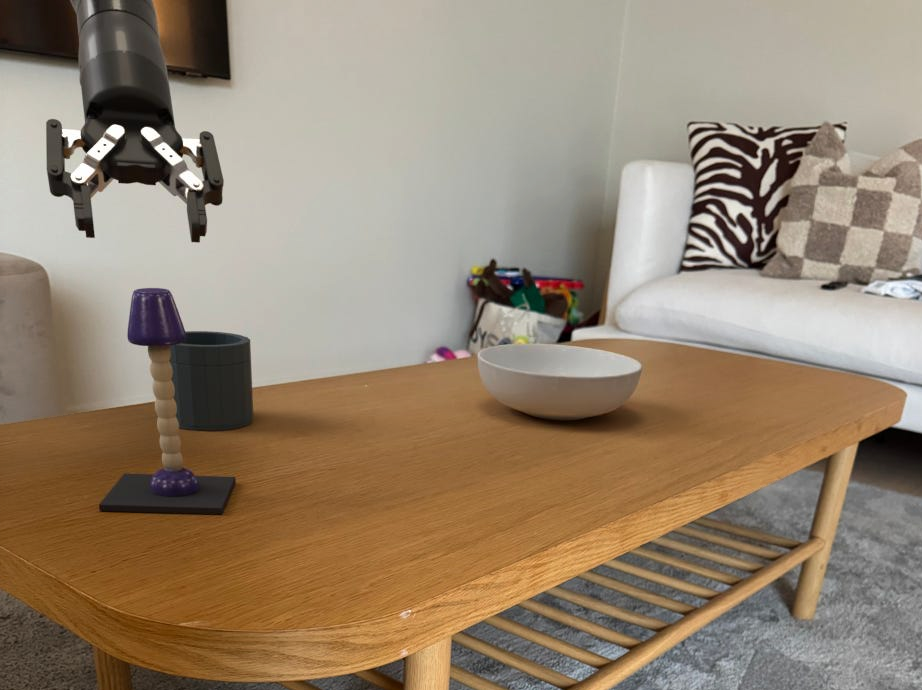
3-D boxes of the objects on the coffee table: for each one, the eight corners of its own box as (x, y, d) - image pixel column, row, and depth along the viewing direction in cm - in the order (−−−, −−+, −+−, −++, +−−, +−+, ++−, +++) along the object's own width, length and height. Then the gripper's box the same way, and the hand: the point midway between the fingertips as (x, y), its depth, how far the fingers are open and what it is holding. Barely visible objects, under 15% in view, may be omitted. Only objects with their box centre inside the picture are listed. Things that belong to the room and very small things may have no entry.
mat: (99, 511, 80) (98, 504, 80) (124, 479, 88) (123, 473, 88) (221, 514, 81) (221, 508, 81) (235, 483, 89) (235, 476, 89)
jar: (156, 428, 104) (148, 343, 100) (173, 408, 113) (166, 329, 109) (247, 432, 106) (243, 348, 102) (257, 411, 114) (254, 333, 110)
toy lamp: (160, 501, 81) (142, 294, 74) (132, 487, 84) (111, 287, 77) (209, 490, 85) (196, 291, 77) (180, 478, 87) (165, 284, 80)
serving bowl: (441, 403, 124) (443, 348, 121) (555, 389, 137) (559, 339, 134) (554, 440, 111) (560, 380, 108) (668, 421, 123) (677, 366, 120)
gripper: (33, 38, 80) (47, 196, 75) (209, 56, 85) (232, 205, 80) (43, 112, 87) (57, 261, 82) (206, 125, 91) (227, 266, 87)
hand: (144, 233), depth 81 cm, fingers open, 8 cm apart
